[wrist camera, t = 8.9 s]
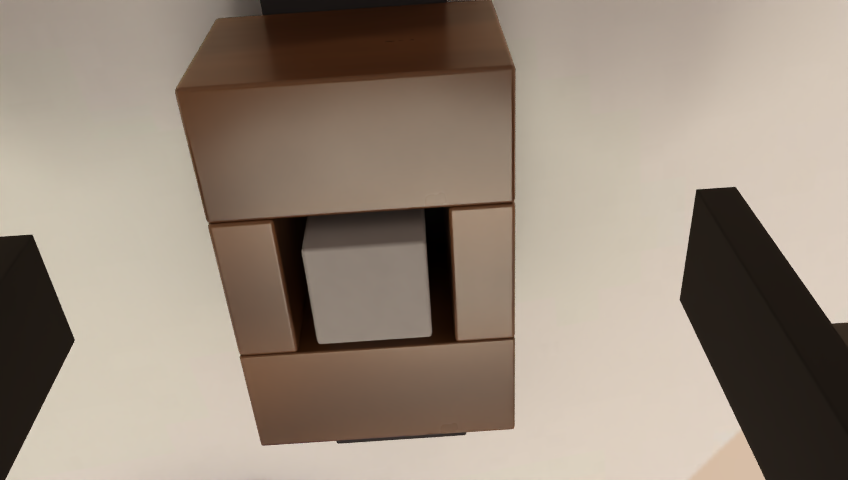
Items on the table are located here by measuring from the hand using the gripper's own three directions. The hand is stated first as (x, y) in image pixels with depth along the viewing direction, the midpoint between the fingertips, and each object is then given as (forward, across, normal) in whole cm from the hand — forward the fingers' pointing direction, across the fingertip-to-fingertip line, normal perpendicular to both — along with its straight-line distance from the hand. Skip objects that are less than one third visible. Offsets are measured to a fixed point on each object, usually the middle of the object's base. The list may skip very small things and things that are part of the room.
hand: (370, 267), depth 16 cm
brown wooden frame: (+4, 0, 0) cm, 4 cm away
